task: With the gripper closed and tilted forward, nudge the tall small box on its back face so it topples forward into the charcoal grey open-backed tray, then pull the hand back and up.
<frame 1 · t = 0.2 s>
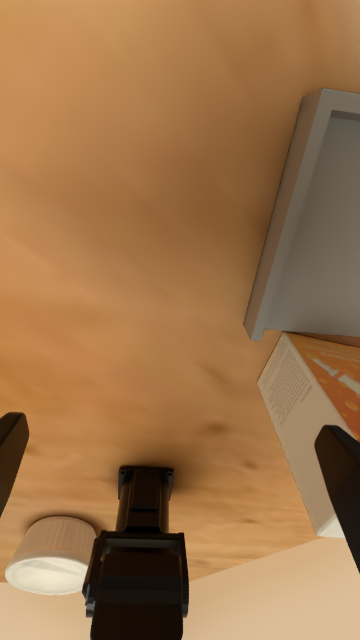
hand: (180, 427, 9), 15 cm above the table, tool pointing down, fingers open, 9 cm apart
ramekin: (64, 529, 41), on the table
small box: (306, 363, 27), on the table
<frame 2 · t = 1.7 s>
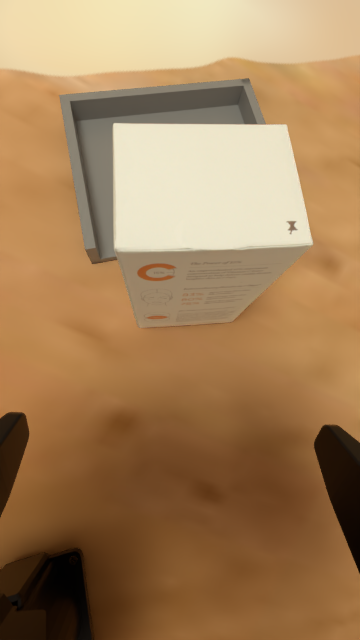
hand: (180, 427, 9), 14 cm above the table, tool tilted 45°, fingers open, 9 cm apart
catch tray: (174, 175, 27), on the table
small box: (182, 291, 24), on the table
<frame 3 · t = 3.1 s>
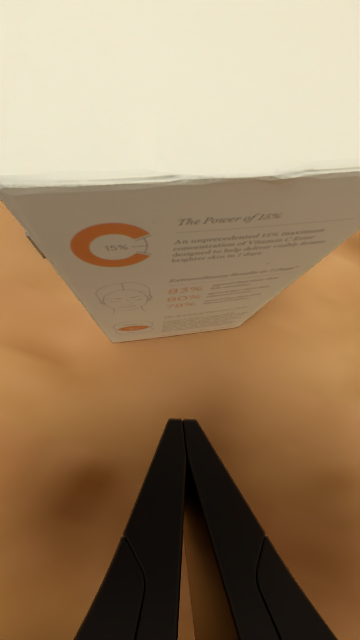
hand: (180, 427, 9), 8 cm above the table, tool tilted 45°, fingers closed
small box: (169, 288, 18), on the table
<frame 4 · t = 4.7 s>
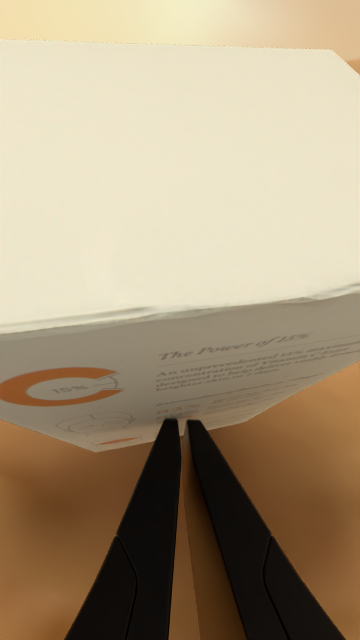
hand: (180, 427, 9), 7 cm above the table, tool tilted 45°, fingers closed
small box: (162, 378, 16), on the table
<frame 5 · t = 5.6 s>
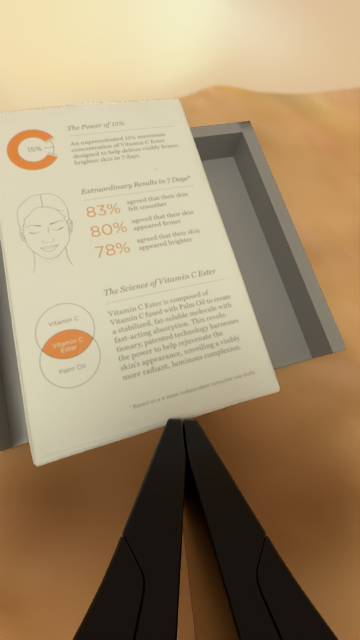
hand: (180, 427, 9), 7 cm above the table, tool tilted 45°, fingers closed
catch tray: (142, 272, 17), on the table
small box: (162, 426, 11), point 4 cm above the table, touching gripper
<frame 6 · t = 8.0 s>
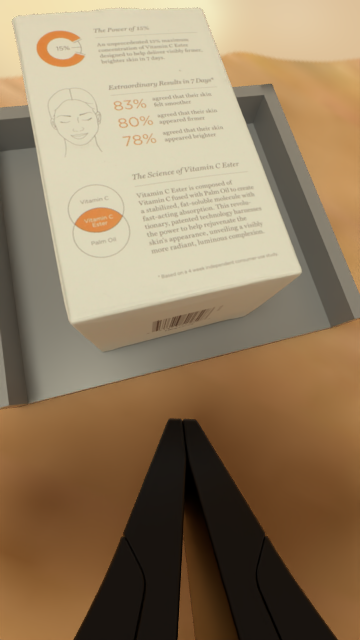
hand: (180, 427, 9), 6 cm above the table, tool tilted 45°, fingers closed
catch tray: (158, 237, 17), on the table
small box: (184, 326, 12), point 4 cm above the table, touching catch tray
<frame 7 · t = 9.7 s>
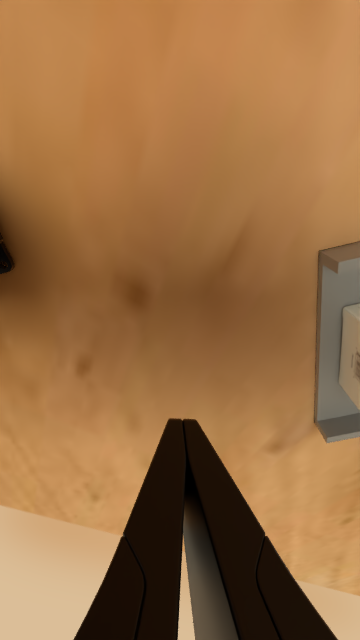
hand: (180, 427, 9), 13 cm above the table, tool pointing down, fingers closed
small box: (358, 372, 21), point 4 cm above the table, touching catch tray
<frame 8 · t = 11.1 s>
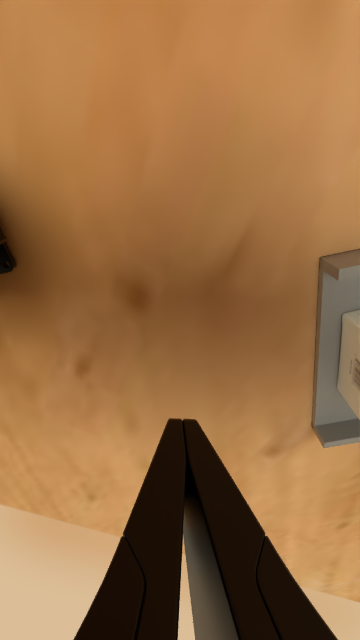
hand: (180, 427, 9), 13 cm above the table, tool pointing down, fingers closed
small box: (356, 378, 21), point 4 cm above the table, touching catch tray
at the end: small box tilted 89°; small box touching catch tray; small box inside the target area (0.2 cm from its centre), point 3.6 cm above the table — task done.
